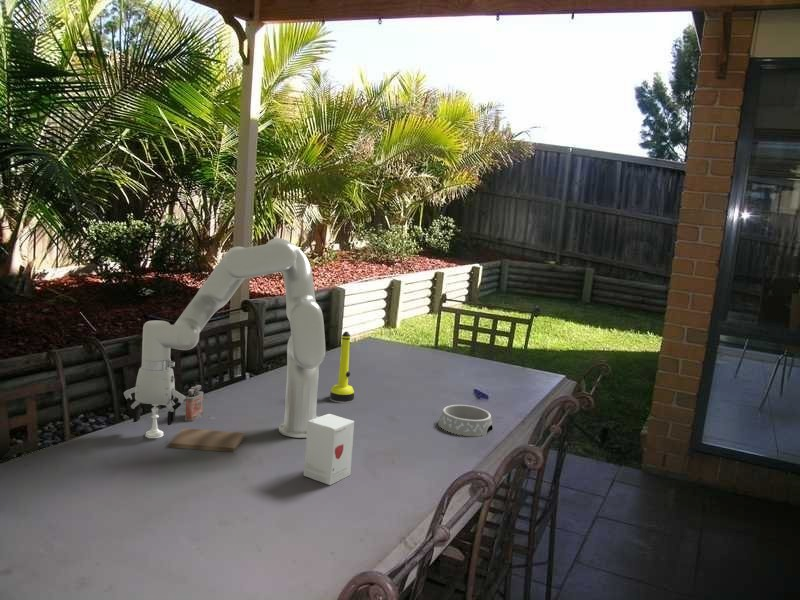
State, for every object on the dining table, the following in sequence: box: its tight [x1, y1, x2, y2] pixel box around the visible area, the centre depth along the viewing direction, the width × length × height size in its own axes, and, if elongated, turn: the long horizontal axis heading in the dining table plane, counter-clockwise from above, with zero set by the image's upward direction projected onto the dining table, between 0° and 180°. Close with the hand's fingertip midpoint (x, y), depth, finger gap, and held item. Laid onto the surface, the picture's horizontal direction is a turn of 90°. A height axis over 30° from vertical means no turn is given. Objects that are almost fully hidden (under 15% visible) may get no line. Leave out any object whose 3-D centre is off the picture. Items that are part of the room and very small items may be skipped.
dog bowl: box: [437, 404, 493, 437], centre depth 214 cm, size 17×18×5 cm
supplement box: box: [303, 413, 355, 486], centre depth 167 cm, size 9×9×15 cm
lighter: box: [184, 384, 204, 423], centre depth 202 cm, size 8×3×10 cm, turn 168°
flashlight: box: [329, 331, 355, 404], centre depth 232 cm, size 25×9×9 cm
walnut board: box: [168, 427, 246, 453], centre depth 184 cm, size 18×12×1 cm, turn 90°
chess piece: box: [145, 404, 164, 439], centre depth 185 cm, size 5×5×10 cm
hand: (153, 422), depth 185 cm, fingers open, 9 cm apart
